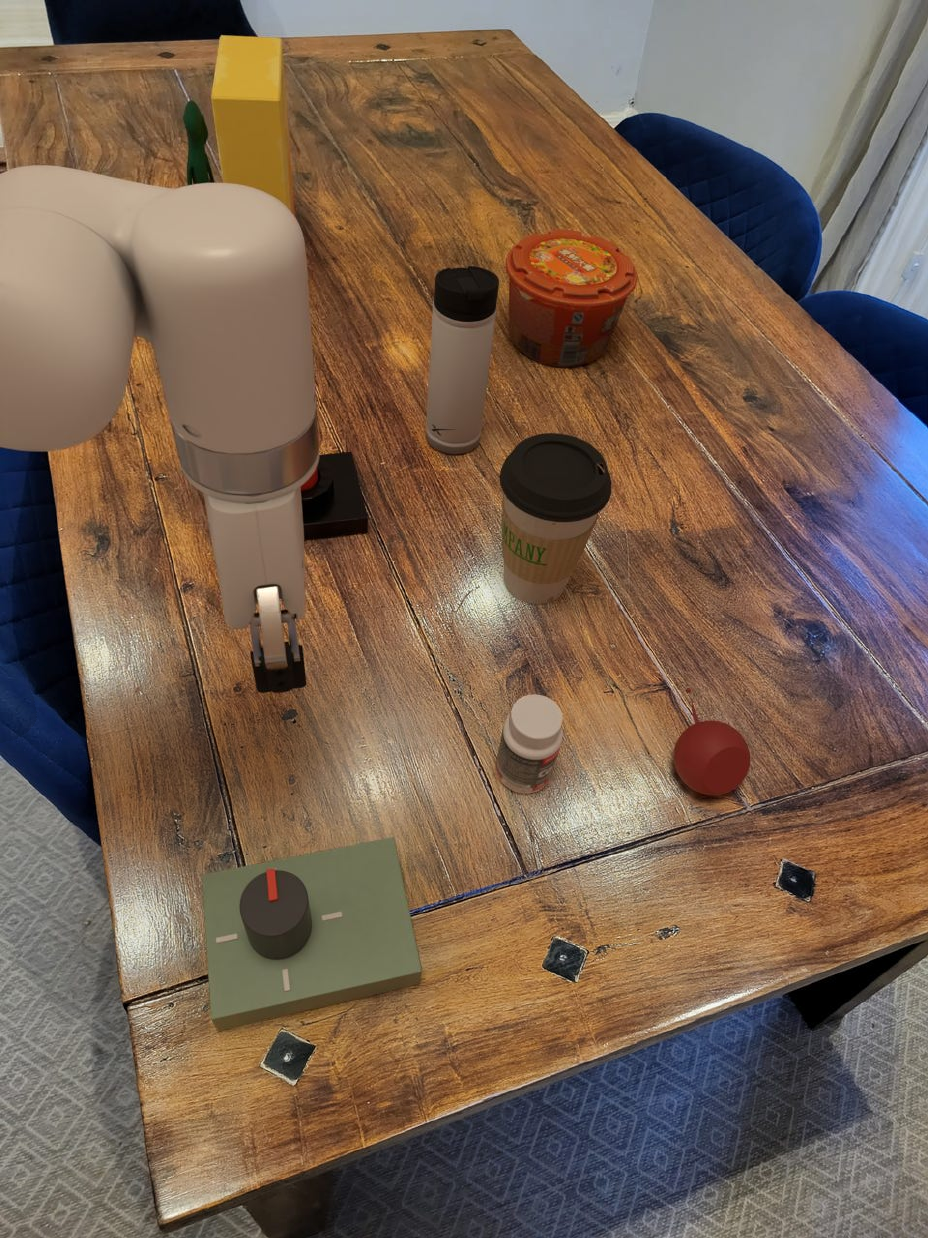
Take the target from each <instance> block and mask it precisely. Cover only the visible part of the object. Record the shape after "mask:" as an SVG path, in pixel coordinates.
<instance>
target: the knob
mask: <svg viewBox="0 0 928 1238" xmlns="http://www.w3.org/2000/svg"><path fill="white" fill-rule="evenodd" d="M239 910H240V915H241V918H242V921H243V924H244V927H245V930H246V933H247V936H248V939H249V942H250V944H251V946H252V947H253V949H254V950H255V951H256V952H257V953H258V954H260V955H261V956H263V957H265V958H268V959H274V960H279V959H285V958H288V957H291V956H293V955H295V954H296V953H297V952H299V951H300V950H301V949H302V948H303V947H304V946H305V944H306V943H307V941H308V939H309V937H310V935H311V931H312V918H311V911H310V905H309V899H308V893H307V890H306V887H305V885H304V884H303V882H302V881H301V880H300V879H299V878H298V877H297V876H295V875H294V874H292V873H290V872H287V871H282V870H275V869H269V870H266V872H265V873H262V874H260V875H258V876H257V877H255V878H254V879H253V880H252V881H250V883H249V884H248V885H247V886H246V887H245V889H244V891H243V893H242V895H241V899H240V904H239Z"/></svg>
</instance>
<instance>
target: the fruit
mask: <svg viewBox="0 0 928 1238" xmlns="http://www.w3.org/2000/svg"><path fill="white" fill-rule="evenodd" d="M685 692H686V693H687V694H689V695H690V696H689V697H690V702H691V703H690V704H691V713H692V718H693V723H694V724H691V725H689V726H688V727H687V728H685V730H683V732H681V734H680V735H679V737H678V738H677V740H676V742H675V745H674V750H673V764H674V768H675V771H676V774H677V775H678V776H679V778H680V779H681V781H682V782H683V783H684V784H685V785H686V786H687V787H688V788H690V789H691V790H693V791H695V792H697V793H699V794H703V795H707V796H721V795H725V794H728V793H731V792H732V791H734V790H735V789H737V788H738V787H739V786H740V785H741V784H742V783H743V782H744V781H745V779H746V778H747V776H748V773H749V770H750V766H751V753H750V748H749V745H748V743H747V741H746V739H745V738H744V737H743V735H742V734H741V733H740V732H739V731H738V730H737V729H736V728H734V727H733V726H732V725H730V724H728V723H726V722H722V721H719V720H712V719H711V720H702V721H700V720H699V718H698V715H697V712H696V709H695V706H694V702H693V698H692V696H691V692H692V689H691V688H690V687H687V688H686V689H685Z"/></svg>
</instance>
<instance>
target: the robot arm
mask: <svg viewBox="0 0 928 1238" xmlns="http://www.w3.org/2000/svg"><path fill="white" fill-rule="evenodd" d="M308 271H309V270H308V258H307V251H306V241H305V237H304V234H303V231H302V228H301V226H300V223H299V222H298V219H297V217H296V215H295V216H294V215H293V214H292V213H291V211H290V210H289V209H288V208H287V207H286V206H285V205H284V204H283V203H282V202H281V201H279V200H278V199H276V198H275V197H273V196H271V195H269V194H267V193H265V192H263V191H261V190H258V189H255V188H252V187H248V186H244V185H238V184H232V183H223V182H215V183H201V184H193V183H192V185H188V186H187V185H184V186H179V187H176V188H173V187H167V186H160V185H153V184H148V183H143V182H137V181H133V180H128V179H123V178H118V177H115V176H109V175H105V174H102V173H101V174H100V173H96V172H91V171H87V170H82V169H77V168H72V167H66V166H58V165H48V164H47V165H46V164H45V165H44V164H43V165H42V164H30V165H24V166H17V167H13V168H11V169H8V170H6V171H4V172H1V173H0V448H2V449H3V448H4V449H9V450H14V451H22V452H56V451H61V450H67V449H71V448H75V447H76V446H79V445H81V444H85V443H87V442H88V441H90V440H91V439H93V438H94V437H96V436H97V435H98V434H100V433H101V432H103V431H104V429H105V428H107V426H108V425H109V424H110V423H111V422H112V420H113V419H114V418H115V416H116V414H117V413H118V411H119V408H120V406H121V404H122V403H123V400H124V396H125V393H126V389H127V385H128V379H129V374H130V369H131V364H132V363H131V362H132V357H133V352H134V351H133V350H134V344H135V338H142V339H144V340H146V341H147V342H148V343H149V344H150V345H151V347H152V350H153V352H154V356H155V360H156V364H157V368H158V373H159V377H160V382H161V386H162V390H163V391H162V392H163V395H164V399H165V404H166V408H167V412H168V418H169V422H170V426H171V430H172V435H173V438H174V444H175V448H176V452H177V457H178V459H179V465H180V469H181V472H182V473H183V476H184V477H185V479H186V480H187V482H188V483H189V484H190V485H192V486H193V487H194V488H195V489H196V490H198V491H200V492H201V493H203V497H204V505H205V511H206V518H207V525H208V530H209V536H210V542H211V548H212V553H213V558H214V564H215V570H216V575H217V580H218V585H219V591H220V596H221V603H222V609H223V614H224V615H223V616H224V621H225V624H226V625H227V627H229V628H230V629H231V630H246V629H247V628H249V631H250V638H251V647H252V650H250V651H249V652H250V653H249V654H250V655H249V656H250V663H251V667H252V673H253V676H254V682H255V687H256V691H257V692H258V693H260V694H266V693H273V694H281V693H287V692H290V691H292V690H296V689H297V690H298V689H303V688H305V687H307V685H308V684H307V675H306V666H305V657H304V655H305V654H304V647H303V644H299V639H298V638H299V637H298V631H297V623H299V622H300V621H301V620H302V619H303V618H304V617H305V615H306V557H305V556H306V553H305V551H306V549H305V540H304V528H303V514H302V500H301V487H300V486H302V485H303V484H304V483H305V482H306V481H307V480H308V479H309V478H310V477H311V476H312V474H313V473H314V472H315V470H316V467H317V465H318V462H319V455H320V440H319V425H318V412H317V411H318V410H317V394H316V382H315V381H316V380H315V364H314V350H313V337H312V336H313V335H312V320H311V318H312V317H311V307H310V306H311V304H310V291H309V290H310V288H309V273H308ZM281 602H282V605H283V607H284V608H285V609H281ZM257 606H258V612H256V611H257ZM284 623H286V624H287V633H288V641H285V634H284V626H283V624H284Z"/></svg>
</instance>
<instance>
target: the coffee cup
mask: <svg viewBox="0 0 928 1238" xmlns="http://www.w3.org/2000/svg"><path fill="white" fill-rule="evenodd" d="M504 459H505V460H504V462H503V463H502V466H501V468H500V471H499V485H500V488H501V490H502V492H503V495H502V500H501V554H502V560H503V562H502V563H503V565H502V567H503V570H502V571H503V573H502V576H503V577H502V579H503V585H504V586H505V589H506V590H507V592H509V594H511V596H513V597H514V598H516V599H517V600H519V601H521V602H522V603H523V602H524V603H526V604H531V605H545V604H549V603H552V602H554V601H555V600H558V598H560V597H561V596H562V594H563V593H564V591H565V589H566V587H567V584H568V582H569V580H570V578H571V576H572V574H573V573H574V572H575V570H576V568H577V566H578V563H579V562H580V560H581V557H582V555H583V553H584V550H585V548H586V546H587V544H588V542H589V539H590V538H591V535H592V533H593V532H594V531H593V530H594V529H595V526H596V524H597V522H598V519H599V513H600V512H601V511H603V510H604V508H605V507H606V506H607V505H608V503H609V501H610V499H611V496H612V484H613V483H612V478H611V474H610V471H609V468H608V464H607V461H606V460H605V457H604V456H603V455H602V453H601V452H600V451H599V450H598V449H597V448H596V447H595V446H593V445H592V444H590V443H588V442H587V441H585V440H583V439H581V438H579V437H576V436H572V435H569V434H565V433H557V432H547V433H538V434H534V435H531V436H529V437H526V438H525V439H522V440H521V441H520V442H519V443H518V444H517V445H515V447H514V448H513V450H512V451H510V453H509V454H508V455H507V456H506V458H504Z"/></svg>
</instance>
